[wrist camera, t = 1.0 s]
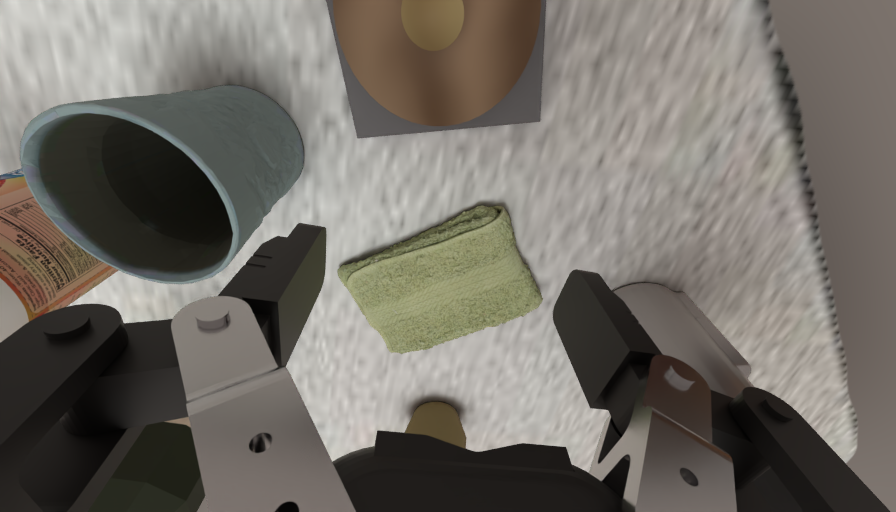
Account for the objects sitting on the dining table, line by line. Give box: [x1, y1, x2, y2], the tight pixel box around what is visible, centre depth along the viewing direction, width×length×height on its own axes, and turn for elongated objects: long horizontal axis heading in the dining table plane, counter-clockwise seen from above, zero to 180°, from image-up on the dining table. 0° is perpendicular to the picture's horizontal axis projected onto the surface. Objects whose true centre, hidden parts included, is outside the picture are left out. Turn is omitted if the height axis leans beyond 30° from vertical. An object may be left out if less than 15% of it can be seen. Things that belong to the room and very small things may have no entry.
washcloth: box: [338, 206, 543, 354], centre depth 34 cm, size 13×18×3 cm
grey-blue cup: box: [20, 85, 304, 284], centre depth 23 cm, size 10×10×12 cm
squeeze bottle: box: [405, 402, 466, 449], centre depth 39 cm, size 8×8×18 cm
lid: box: [333, 0, 541, 126], centre depth 20 cm, size 13×13×6 cm
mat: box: [326, 0, 546, 138], centre depth 23 cm, size 14×14×1 cm
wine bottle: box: [88, 417, 205, 512], centre depth 27 cm, size 8×8×30 cm
